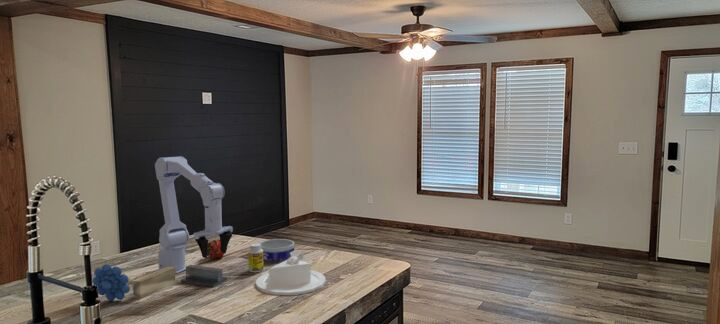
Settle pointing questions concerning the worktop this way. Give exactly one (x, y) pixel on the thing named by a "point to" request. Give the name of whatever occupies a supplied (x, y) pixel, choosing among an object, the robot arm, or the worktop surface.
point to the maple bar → (153, 282)
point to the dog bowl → (277, 250)
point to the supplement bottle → (255, 258)
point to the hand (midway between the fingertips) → (214, 254)
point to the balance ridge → (203, 276)
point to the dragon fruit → (214, 249)
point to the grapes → (111, 282)
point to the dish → (291, 277)
